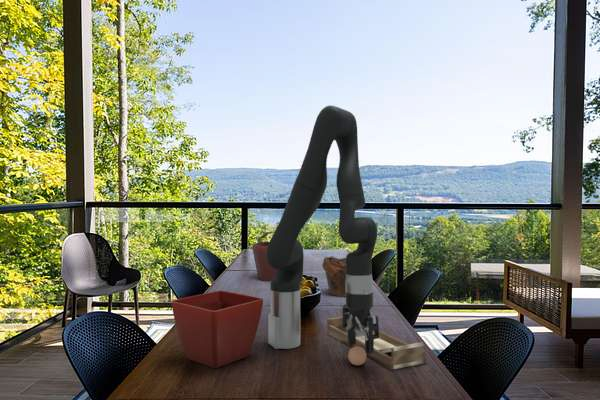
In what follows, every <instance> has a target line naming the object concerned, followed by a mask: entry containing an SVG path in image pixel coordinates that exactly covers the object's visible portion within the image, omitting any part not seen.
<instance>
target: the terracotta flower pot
mask: <svg viewBox="0 0 600 400" xmlns="http://www.w3.org/2000/svg"><path fill="white" fill-rule="evenodd" d="M322 269H323V270H324V271H325V276H326V281H327V282H326V283H327V287H328V291H329V292H328V293H329V295H331V296H335V297H345V298H346V286H345V281H346V257H343V258H342V257H341V258H338V257H335V256H332V255H331V256H329V257H328V256H325V257H324V258H323V262H322Z"/></svg>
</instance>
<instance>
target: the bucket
mask: <svg viewBox="0 0 600 400" xmlns="http://www.w3.org/2000/svg"><path fill="white" fill-rule="evenodd" d="M274 232H275V230H274V231H267V232H264V233H262V234H261V235H260V236H259V237H258V238H257V241H256V242H257V243H255V242H254V243H252V253H253V259H254V263H255V268H256V273H257V279H258V280H260V281H262V282H269V283H271V280H272V279H273V278H274V276H275V274H276V272H277V269H275V268H272V267H271V266H270V265H269V264H268V262H267V259H266V249H267V246H268V244H269V242H270V241H262V239H265V238H266V237H267V236H268V235H270V234H274Z"/></svg>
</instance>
